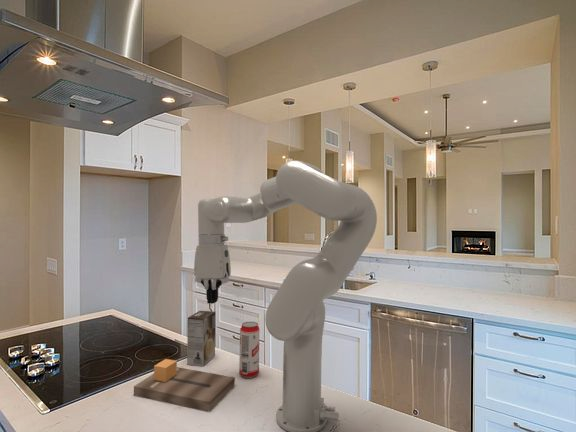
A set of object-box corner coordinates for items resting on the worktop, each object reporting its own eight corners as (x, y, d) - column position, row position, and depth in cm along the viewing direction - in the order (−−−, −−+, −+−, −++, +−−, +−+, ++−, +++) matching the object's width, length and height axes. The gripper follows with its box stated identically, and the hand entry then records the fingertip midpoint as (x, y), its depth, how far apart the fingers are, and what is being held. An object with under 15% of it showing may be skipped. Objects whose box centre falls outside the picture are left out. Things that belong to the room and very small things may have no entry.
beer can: (235, 377, 103) (236, 325, 103) (244, 368, 109) (245, 320, 109) (254, 380, 101) (254, 328, 101) (262, 371, 107) (262, 322, 107)
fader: (176, 374, 98) (176, 360, 98) (165, 382, 93) (165, 367, 94) (165, 372, 99) (165, 358, 100) (153, 379, 95) (154, 365, 95)
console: (234, 385, 97) (234, 377, 97) (209, 411, 84) (209, 401, 84) (166, 373, 105) (166, 364, 105) (133, 395, 91) (133, 385, 91)
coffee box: (199, 354, 120) (199, 310, 120) (215, 355, 118) (216, 311, 119) (186, 365, 111) (187, 317, 111) (203, 367, 109) (204, 318, 110)
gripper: (239, 239, 100) (240, 300, 99) (196, 240, 104) (197, 298, 103) (228, 240, 92) (229, 306, 92) (182, 241, 96) (183, 304, 96)
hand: (212, 302), depth 97 cm, fingers closed
